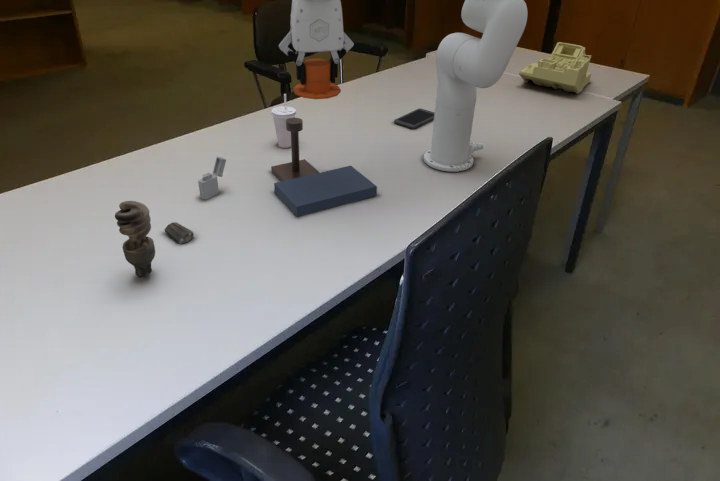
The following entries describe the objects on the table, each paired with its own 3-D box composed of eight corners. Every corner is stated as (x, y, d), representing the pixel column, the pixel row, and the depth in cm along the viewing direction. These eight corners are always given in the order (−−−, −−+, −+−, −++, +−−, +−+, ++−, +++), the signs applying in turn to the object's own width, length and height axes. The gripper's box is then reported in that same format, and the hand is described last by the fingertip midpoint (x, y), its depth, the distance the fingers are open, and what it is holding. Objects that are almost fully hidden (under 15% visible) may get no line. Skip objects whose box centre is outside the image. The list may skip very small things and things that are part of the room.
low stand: (350, 174, 141) (350, 165, 140) (376, 195, 132) (376, 186, 131) (274, 192, 132) (273, 183, 131) (296, 216, 124) (296, 206, 122)
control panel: (541, 33, 207) (600, 36, 197) (539, 74, 216) (594, 80, 207) (517, 58, 192) (579, 64, 182) (516, 102, 202) (575, 109, 192)
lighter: (205, 200, 129) (200, 167, 124) (200, 197, 129) (195, 165, 125) (229, 188, 133) (226, 157, 129) (224, 186, 134) (220, 154, 130)
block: (177, 227, 119) (176, 219, 118) (196, 237, 116) (195, 230, 115) (162, 234, 116) (161, 227, 115) (181, 245, 113) (180, 237, 112)
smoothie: (293, 151, 151) (291, 99, 144) (269, 148, 152) (266, 96, 145) (300, 141, 156) (298, 90, 149) (277, 139, 157) (274, 88, 150)
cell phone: (439, 116, 174) (440, 113, 174) (413, 129, 165) (413, 127, 165) (419, 110, 178) (419, 107, 178) (392, 122, 169) (393, 120, 169)
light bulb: (133, 266, 107) (117, 195, 99) (164, 266, 108) (150, 195, 99) (126, 285, 103) (108, 212, 94) (157, 284, 103) (142, 211, 95)
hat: (327, 81, 127) (327, 53, 124) (349, 95, 120) (349, 66, 116) (285, 87, 123) (284, 58, 119) (305, 102, 116) (305, 72, 112)
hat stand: (304, 164, 145) (303, 111, 137) (321, 179, 138) (320, 124, 131) (271, 171, 141) (268, 117, 133) (286, 187, 135) (284, 131, 127)
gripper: (273, -7, 105) (278, 90, 115) (364, -9, 109) (361, 85, 119) (268, -15, 111) (273, 78, 121) (354, -16, 115) (352, 74, 125)
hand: (317, 81), depth 120 cm, fingers closed on hat, 5 cm apart
